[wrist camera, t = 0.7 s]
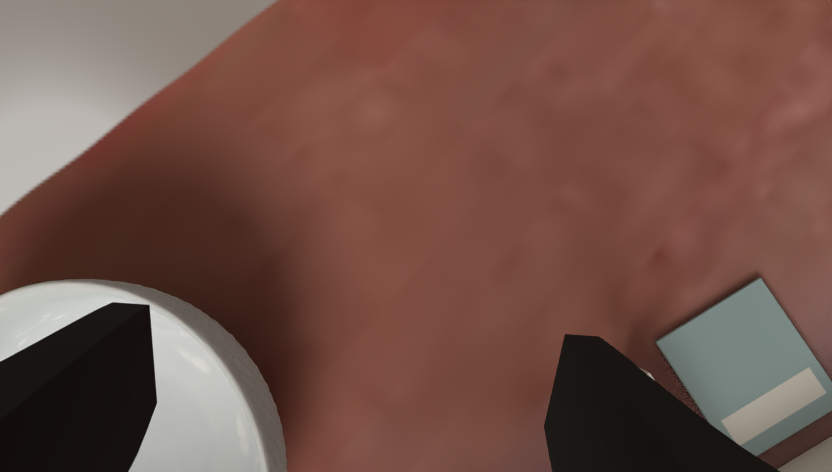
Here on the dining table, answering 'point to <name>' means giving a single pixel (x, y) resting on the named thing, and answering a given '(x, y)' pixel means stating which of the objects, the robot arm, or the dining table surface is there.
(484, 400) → the dining table surface
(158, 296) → the cereal bowl
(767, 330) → the mat
